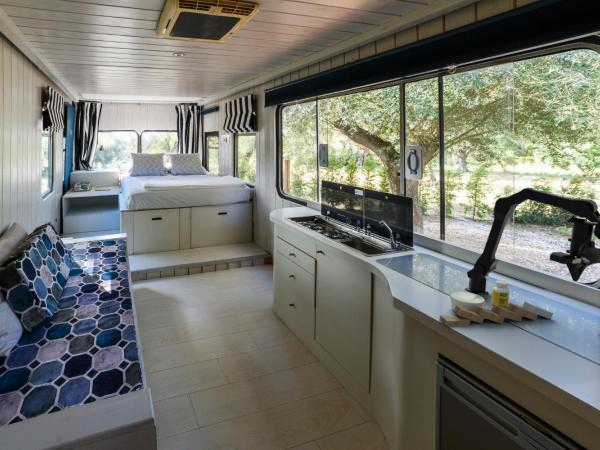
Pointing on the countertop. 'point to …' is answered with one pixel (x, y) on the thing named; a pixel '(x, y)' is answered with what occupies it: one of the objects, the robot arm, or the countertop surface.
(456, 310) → the tile
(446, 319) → the tile
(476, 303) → the ramekin
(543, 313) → the block
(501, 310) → the brown rectangular block
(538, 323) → the countertop surface
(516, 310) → the brown rectangular block
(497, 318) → the brown wooden block
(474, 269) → the robot arm
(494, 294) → the supplement bottle
